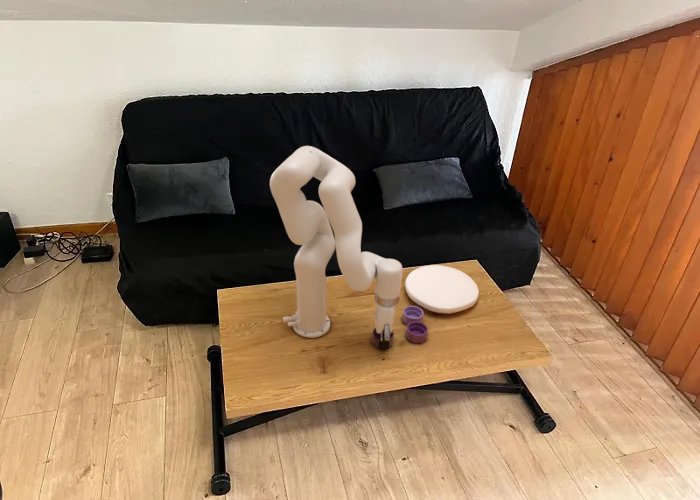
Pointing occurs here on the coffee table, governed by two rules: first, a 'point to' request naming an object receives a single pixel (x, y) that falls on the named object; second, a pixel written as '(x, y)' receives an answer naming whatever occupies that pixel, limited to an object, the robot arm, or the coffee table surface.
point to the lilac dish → (412, 314)
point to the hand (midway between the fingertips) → (382, 339)
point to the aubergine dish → (377, 336)
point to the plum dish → (416, 332)
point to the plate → (441, 289)
